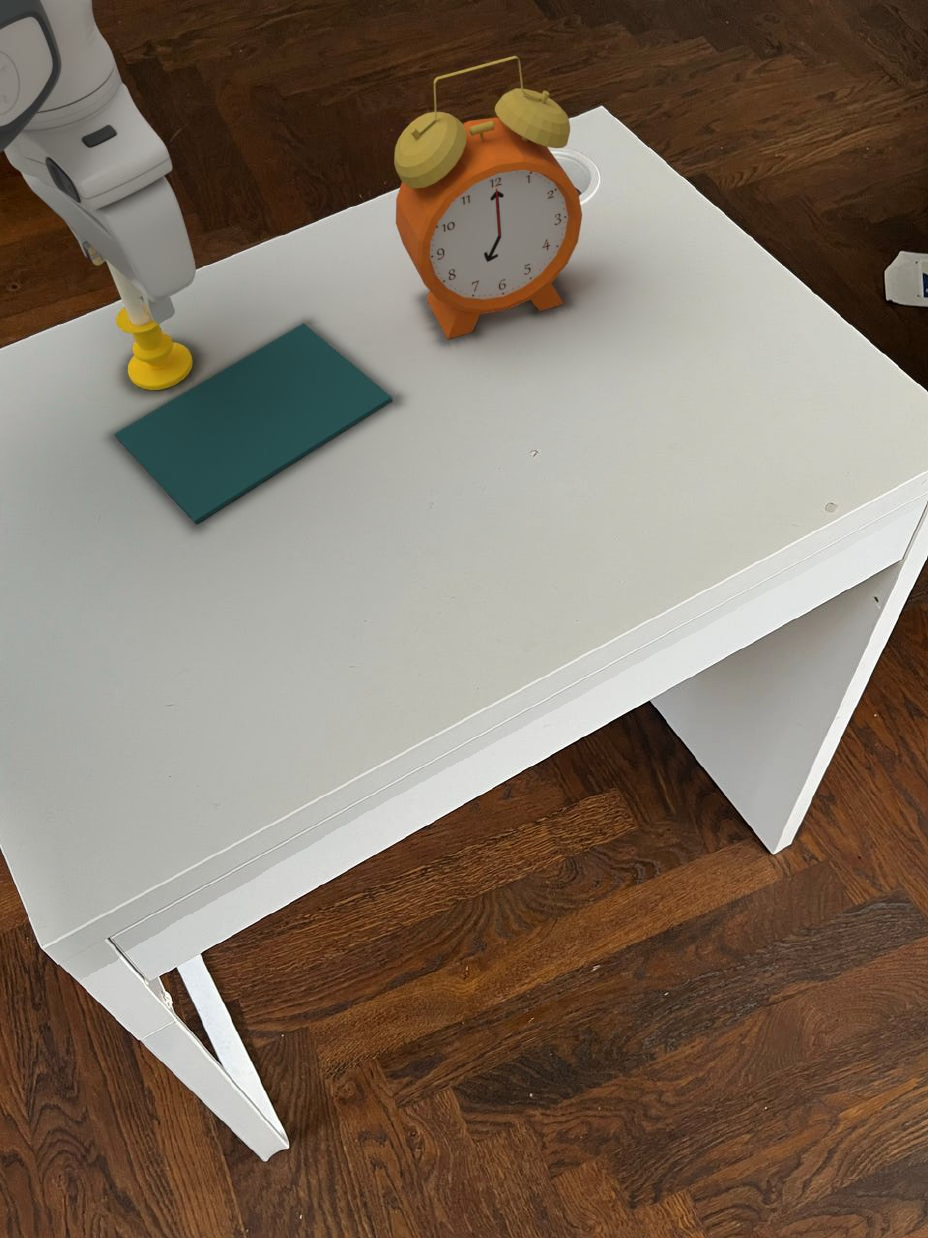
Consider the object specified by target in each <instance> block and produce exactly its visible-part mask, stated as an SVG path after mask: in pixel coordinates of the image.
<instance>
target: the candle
mask: <svg viewBox="0 0 928 1238" xmlns="http://www.w3.org/2000/svg"><path fill="white" fill-rule="evenodd" d="M105 262H106V264H107V266H108V269H109V272H110V274H111V277H112V279H113V281H114V284H115V287H116V289H117V291H118V293H119V296H120V299H121V301H122V304H123V307H122V308H121V309H120V310H119V311H118V313H117V315H116V317H115V324H116V326H117V328H118V329H119V331H122V332H124V333H126V334H132V337H133V340H134V343H133V344H132V347H131V348H132V353H133V356H132V357H131V359H130V360H129V361H128V366H127V374H128V377H129V379H130V380H131V382H132V383H133V384H134V385H135V386H136V387H138V388H141V389H143V390H150V391H160V390H165V389H168V388H171V387H174V386H175V385H177V384H179V383H181V382H183V380H184V379H186V377H187V376H189V374H190V372H191V370H192V368H193V363H194V361H193V356H192V353H191V352H190V350H189V348H188V347H186V346H185V345H183V344H181V343H178V342H174V340H173V339H172V337H171V335H170V334H168V333H166V332H164V331H162V327H161V323H155V322H154V321H153V320H152V319H151V318H150V317H149V316H148V315H147V314H146V313H145V312H144V308H143V306H142V304H141V302H140V299H139V297H141V296H142V292H141V291H140V290H138V289H137V288H136V287H135V286H134V285H133V284H132V283H131V282H130V281H129V280H128V279H127V278H126V277H125V276H123V275H122V274H121V273H120V272H119V271H118V270H117V269H116V268H115V267H114V266H113V265H112V264H111V263H110V262H108V261H107V260H106V261H105Z"/></svg>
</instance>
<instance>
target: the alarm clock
mask: <svg viewBox="0 0 928 1238" xmlns="http://www.w3.org/2000/svg"><path fill="white" fill-rule="evenodd" d="M515 59H517V64H518V68H519V69H518V71H519V72H518V73H519V81H520V88H514V89H512V90H510V91H508V92H506V93H503V95H502V96H501V98H499V99H498V101H497V103H496V104H495V107H494V112H495V114H496V116H497V117H490V118H482V119H481V118H480V119H473V120H468V121H466V122H462V121H460V120H459V119H458V118H456V117H455V116H454V115H452V114H450V113H448V112H444V111H438V110H437V90H436V89H437V85H436V84H437V82H438V81H439V80H443V79H446V78H450V77H453V76H457V75H461V74H465V73H468V72H472V71H475V70H479V69H482V68H486V67H491V66H493V65H498V64H500V63H505V62H508V61H511V60H515ZM549 96H550V93H549V91H547V90H543V91H542V93H541V92H538V91H536V90H531V89H527V88H524V83H523V75H522V65H521V60H520V58H519V57H518V56H517V55H513V56H509V57H505V58H501V59H497V60H495V61H490V62H486V63H484V64H480V65H475V66H472V67H468V68H465V69H462V70H458V71H453V72H450V73H447V74H442V75H440V76H436V77H435V78H434V80H433V101H434V104H433V105H434V111H432V112H426V113H424V114H422V115H420V116H418V117H417V118H416V119H414V120H413V121H411V122H410V123H409V124H408V125H407V126H406V128H405V129H404V130H403V131H402V133H401V135H400V136H399V137H398V140H397V142H396V145H395V147H394V158H393V159H394V161H393V163H394V168H395V171H396V173H397V175H398V177H399V179H400V181H401V184H400V187H399V189H398V193H397V195H396V199H395V201H396V202H395V225H396V228H397V231H398V233H399V236H400V240H401V243H402V245H403V247H404V249H405V251H406V252H407V254H408V256H409V258H410V260H411V262H412V264H413V266H414V268H415V270H416V271H417V273H418V275H419V277H420V279H421V281H422V282H423V284H424V286H425V287H426V288H427V289H428V290H429V291H428V294H427V297H426V301H427V303H428V305H429V307H430V309H431V310H432V312H433V314H434V316H435V319H436V320H437V322H438V324H439V326H440V328H441V330H442V332H443V333H444V335H445V338H446V339H447V340H452V339H454V338H457V337H461V336H463V335H468V334H471V333H473V331H474V329H475V327H476V324H477V322H478V320H479V318H480V316H481V315H483V314H491V313H497V312H503V311H508V310H510V309H512V308H515V307H517V306H519V305H522V304H523V303H526V302H528V301H531V303H532V304H533V305H534V306H535V307H536V309H538V311H539V312H542V311H546V310H549V309H552V308H556V307H559V306H561V305H564V301H563V300H562V298H561V297H560V295H559V294H558V292H557V290H556V289H555V288H554V285H553V282H554V281H555V280H556V278H557V277H558V276H559V275H560V274H561V273H562V272H563V270H564V269H565V267H566V266H568V264H569V262H570V259H571V257H572V256H573V253H574V251H575V249H576V247H577V245H578V243H579V238H580V231H581V226H582V221H583V220H582V219H583V211H582V206H581V201H580V196H579V195H580V194H579V191H578V189H577V188H576V186H575V185H574V183H573V181H572V180H571V179H570V177H569V175H568V174H567V172H566V171H565V170H564V168H563V167H562V165H561V164H560V163H559V161H558V160H557V158H556V156H554V154H553V153H552V152H551V150H550V149H549V148H552V149H563V148H565V147H566V146H567V145H568V142H569V138H570V133H571V123H570V119H569V116H568V114H567V113H566V112H565V110H564V109H563V108H561V106H560V105H559V104H558V103H557V102H556V101H554V100H553V99H551V98H550V97H549Z"/></svg>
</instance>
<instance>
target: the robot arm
mask: <svg viewBox="0 0 928 1238" xmlns="http://www.w3.org/2000/svg"><path fill="white" fill-rule="evenodd" d="M3 152H4V153H5V156H6V158H7V160H8V161H9V163H10V164H11V166H12V167H13V168H15V170H17V171H19V172H20V173H21V175H22V177H23V179H24V180H25V182H26V184H27V185H28V187H29V188H30V189H31V191H32V192H33V193H35V195H37V196H38V197H39V198H40V199H41V200H42V201H43V202H44V203H45V204H46V205H47V206H48V207H49V208H50V209H52V210H53V212H55V213H56V214H57V215H58V216H59V217H60V218H61V219H62V220H64V222H65V223H66V225H67V226H68V228H69V229H70V231H71V232H72V234H73V235H74V237H75V239H76V240H77V242H78V244H79V246H80V249H81V251H82V253H83V255H84V256H85V258H87V260H88V261H90V262H91V263H92V264H93V265H95V266H101V265H103V263H104V262H107V261H108V262H110V263H111V264H112V265H113V266H114V267H115V268H116V269H117V270H118V271H119V272H120V273H121V274H122V275H123V276H125V277H126V278H127V279H128V280H129V281H130V282H131V283H132V284H133V285H134V286H135V287H136V288H137V289H138V290H140V291H141V292H142V296H141V297H139V299H140V302H141V304H142V306H143V308H144V312H145V313H146V314H147V315H148V316H149V317H150V318H151V319H152V320H153V321H154V322H155V323H160V324H161V323H163V322H165V321H167V320H169V319H170V318H173V316H174V315H175V311H176V309H175V307H174V303H173V300H172V298H171V297H172V296H174V295H176V294H177V293H179V292H181V291H183V290H184V289H186V288H188V287H189V286H191V285H192V284H193V282H194V281H195V277H196V272H197V267H196V262H195V257H194V254H193V249H192V245H191V242H190V238H189V234H188V231H187V227H186V224H185V221H184V217H183V214H182V211H181V208H180V204H179V202H178V200H177V197H176V194H175V192H174V190H173V188H172V186H171V184H170V182H169V181H168V179H167V178H166V177H165V176H166V175H167V174H169V173H171V172H172V171H173V163H172V159H171V156H170V153H169V151H168V148H167V146H166V145H165V143H164V141H163V140H162V139H161V137H160V136H159V135H158V133H157V132H156V131H155V130H154V128H153V127H152V126H151V125H150V123H149V122H148V121H147V120H146V118H145V116H144V115H143V114H141V112H140V110H139V109H138V107H137V105H136V103H135V102H134V100H133V98H132V96H131V93H130V91H129V89H128V87H127V85H126V84H124V83H123V81H122V78H121V75H120V72H119V69H118V66H117V62H116V59H115V56H114V53H113V51H112V49H111V48H110V46H109V44H108V42H107V40H106V39H105V38H104V37H103V35H102V34H101V32H100V30H99V27H98V25H97V23H96V21H95V17H94V13H93V0H0V154H1V153H3ZM106 260H107V261H106Z"/></svg>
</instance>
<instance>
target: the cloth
mask: <svg viewBox="0 0 928 1238" xmlns="http://www.w3.org/2000/svg"><path fill="white" fill-rule="evenodd" d="M390 402H393V397H392V396H391V395H390V394H388V393H387V392H386V391H385V390H384V389H383V388H381V387H380V386H379V385H378V384H377V383H375V381H373V380H372V379H371V378H370V377H368V376H367V375H366V374H365V373H364V372H363V371H361V370H360V369H359V368H358V367H357V366H356V365H354V364H353V363H352V362H351V361H350V360H348V359H347V358H346V357H345V356H344V355H342V354H341V352H339V351H338V350H337V349H335V348H334V347H333V346H332V345H330V344H329V343H328V342H327V341H326V340H325V339H323V338H322V337H321V336H320V335H319V334H317V333H316V332H315V331H314V330H313V329H312V328H310V327H309V326H308V325H307V324H306V323H304V322H303V323H301V324H299V325H298V326H296V327H294V328H293V329H291V330H289V331H287V332H286V333H284V334H283V335H281V336H279V337H277V338H275V339H274V340H272V341H270V342H269V343H267V344H266V345H263V346H262V347H260V348H259V349H257V350H255V351H254V352H252V353H250V354H248V355H247V356H245V357H243V358H241V359H239V360H238V361H236V362H235V363H233V364H231V365H229V366H228V367H225V368H224V369H222V370H221V371H219V372H218V373H216V374H213V376H211V377H209V378H207V379H205V380H204V381H202V382H201V383H199V384H196V385H195V386H194V387H192V388H190V389H189V390H186V391H185V392H183V393H181V394H180V395H178V396H176V397H175V398H173V399H171V400H170V401H168V402H166V403H165V404H162V405H161V406H159V407H158V408H156V409H154V410H153V411H150V412H149V413H147V414H146V415H144V416H142V417H140V418H139V419H137V420H135V421H133V422H132V423H130V424H129V425H127V426H125V427H123V428H121V429H120V430H118V431H117V432H114V436H115V439H117V440H118V442H120V444H122V446H123V447H124V448H125V449H126V450H127V452H129V453H130V454H131V456H132V457H133V458H134V459H135V460H136V461H137V462H138V463H139V464H140V466H142V468H144V470H145V471H146V472H147V473H148V474H149V475H150V476H151V477H152V478H153V479H154V480H155V481H156V483H157V484H158V485H159V486H160V487H161V488H162V489H163V490H164V491H165V492H166V494H168V496H169V497H170V498H171V499H172V500H173V501H174V502H175V503H176V504H177V505H178V507H180V509H181V510H182V511H183V512H184V513H185V514H186V515H187V516H188V517H189V519H191V520H192V522H193V523H194V524H195V525H196V524H198V523H200V522H202V521H204V520H205V519H206V518H208V517H209V516H211V515H213V514H214V513H216V512H218V511H219V510H221V509H222V508H224V507H226V506H227V505H228V504H230V503H232V502H233V501H235V500H236V499H238V498H240V497H241V496H243V495H245V494H247V492H250V491H251V490H252V489H255V487H257V486H259V485H261V484H262V483H263V482H265V481H267V480H268V479H270V478H271V477H273V476H274V475H275V476H276V475H277V474H278V473H279V472H281V471H283V470H284V469H286V468H288V467H289V466H291V465H292V464H294V463H296V462H297V461H298V460H300V459H302V458H303V457H305V456H306V455H308V454H310V453H311V452H313V451H314V450H316V449H318V448H319V447H321V446H322V445H324V444H326V443H327V442H329V441H330V440H332V439H333V438H335V437H338V435H340V434H342V433H343V432H345V431H347V430H348V429H349V428H351V427H352V426H354V425H356V424H357V423H359V422H360V421H362V420H364V419H365V418H367V417H369V416H370V415H371V414H373V413H374V412H376V411H378V410H380V409H381V408H383V407H384V406H386V405H388V404H389V403H390Z"/></svg>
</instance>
